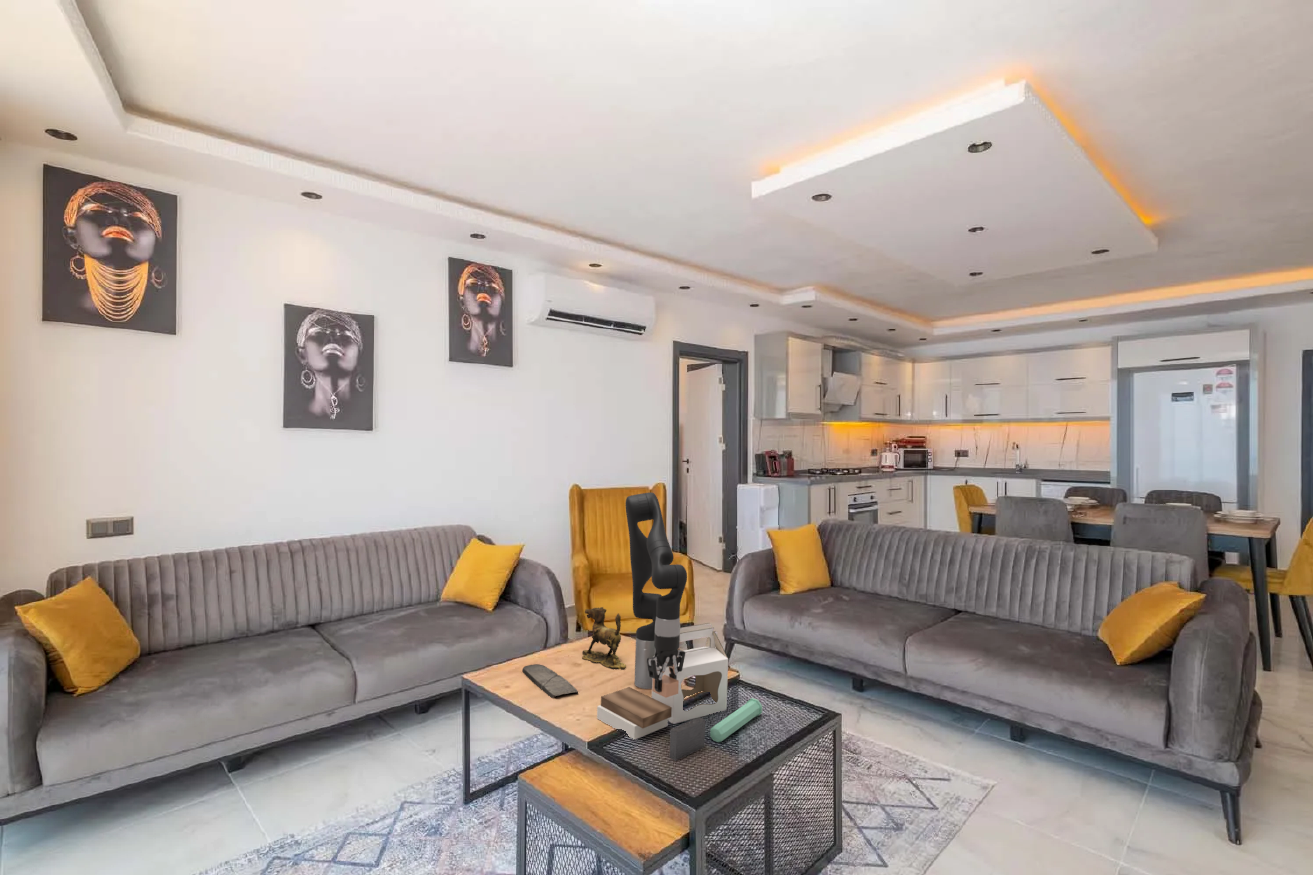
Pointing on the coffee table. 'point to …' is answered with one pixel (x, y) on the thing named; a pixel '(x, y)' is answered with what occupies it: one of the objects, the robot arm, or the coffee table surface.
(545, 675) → the stone slab
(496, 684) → the coffee table surface
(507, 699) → the coffee table surface
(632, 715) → the plank
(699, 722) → the block
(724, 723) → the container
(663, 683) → the support block
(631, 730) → the riser
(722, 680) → the gable box
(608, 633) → the figurine
